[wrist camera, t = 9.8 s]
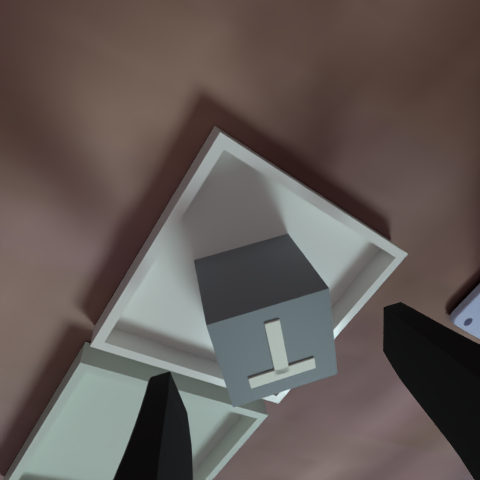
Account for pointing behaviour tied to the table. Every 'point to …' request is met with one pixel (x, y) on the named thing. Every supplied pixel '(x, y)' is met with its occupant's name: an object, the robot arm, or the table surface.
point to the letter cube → (267, 318)
